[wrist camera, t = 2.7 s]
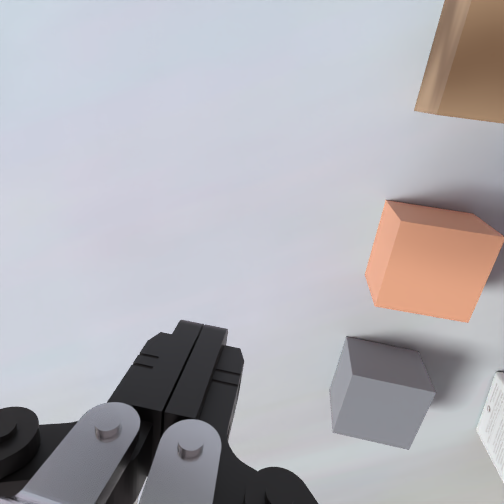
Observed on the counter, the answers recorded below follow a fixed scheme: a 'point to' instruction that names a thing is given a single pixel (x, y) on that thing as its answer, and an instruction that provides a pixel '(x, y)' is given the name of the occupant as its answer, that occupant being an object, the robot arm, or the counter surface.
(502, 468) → the small box
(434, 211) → the terracotta block
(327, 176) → the counter surface
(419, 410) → the grey block
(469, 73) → the walnut block
